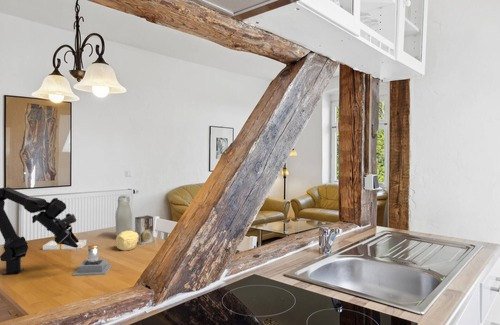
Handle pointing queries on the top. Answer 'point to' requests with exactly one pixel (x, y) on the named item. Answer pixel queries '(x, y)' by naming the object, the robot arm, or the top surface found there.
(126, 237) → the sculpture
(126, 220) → the glass bottle
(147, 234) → the coffee box
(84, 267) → the docking block
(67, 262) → the top surface
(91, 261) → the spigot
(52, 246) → the parts tray
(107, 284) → the top surface
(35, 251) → the top surface
